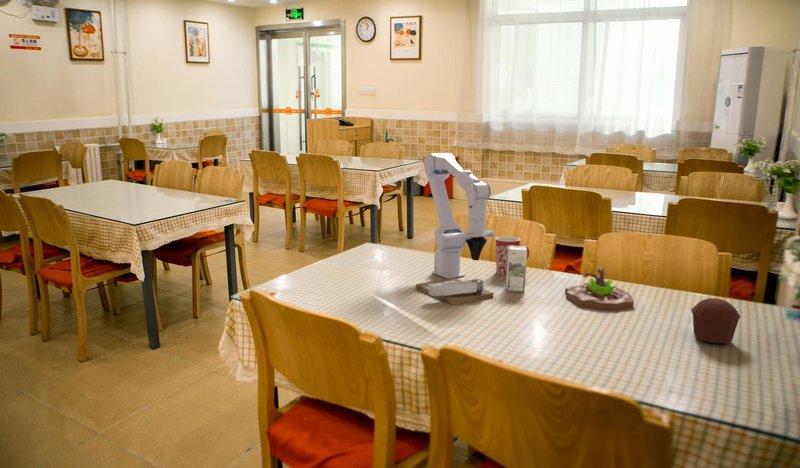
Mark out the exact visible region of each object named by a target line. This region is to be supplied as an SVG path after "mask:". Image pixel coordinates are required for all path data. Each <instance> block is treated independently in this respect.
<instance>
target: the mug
mask: <svg viewBox="0 0 800 468" xmlns="http://www.w3.org/2000/svg"><path fill="white" fill-rule="evenodd" d="M494 238H495V262H496V263H495V266H496V267H495V269H496V270H495V272H496V274H497V275H499V276H504V277H506V274H507V256H508V246H525V247H526V249H527V260H528V259H529V257H530V249H529V247H528V246H527V245H524V244H522V245H520V244H521V243H520V242H521V238H520V237H516V236H497V237H494Z"/></svg>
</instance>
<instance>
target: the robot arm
mask: <svg viewBox="0 0 800 468" xmlns="http://www.w3.org/2000/svg"><path fill="white" fill-rule="evenodd" d="M456 158H457V157H456V156H455V155H453V153H452V152H445V153H444V152H443V153H442V152H440V153H437V152H435V153H432V152H427V153H426V155H425V156H424V160H423V168H424V171H425V175H426V179H428V183H429V186H430V190H431V195H432V198H433V203H434V206H435V211H436V215H437V220H438V223H439V226H438V227H437V228H436V230H435V231H434V237H435V238H434V239H435V240H434V243H435V246H436V248H437V250H436V251H435V253H434V257H433V259H434V261H433V271H431V273H432V274H434V275H437V276H440V277H442V278H445V279H452V278H459V277H465V276H466V275H465V274H464V273H462V272H461V252H463V249H464V248H465V247H466V244H467V247H468V249H469V252H470V256H471V260H472V261H475V262H476V261H479V260H480V257H481V255H482V254H481V253H482V251H483V249H484V247H485V245H486V243H487V241H488V239H487V238H496V237H495V236H496V231H495V230H492V229H490V230H486V223H487V220H486V219H487V203H488V202H487V200H489V199H490V197H491V192H492V189H491V186H490V184H489V183H488V181H480V180H479V178H478V177H476V176H475V175H474V174H473V173H472V171H471V170H468V169H465V170H464V169H463V168H462V167H461V165H459V164H458V162H457V160H456ZM450 175H452V176H453V177H454V178H456V179H455V180H456V183H457V185H458V186H459V187H460V188H461V189H463V191H465V197H466V199H467V200H466V203H467V206H468V210H467V211H468V215H467V217H468V218H467V231H465V232H464V231H463V229H462V226H461V225H459V224H458V223H456V222H455V220H454V215H453V211H452V207H451V203H450V200H449V196H448V192H447V187H446V184H445V180H446V179H448V178H449V177H450Z"/></svg>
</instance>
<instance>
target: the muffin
mask: <svg viewBox="0 0 800 468" xmlns="http://www.w3.org/2000/svg"><path fill="white" fill-rule="evenodd" d="M690 312H691V314H692V326H693V327H692V328H693V334H694V337H695V338H698V339H699V340H702V341H703V342H709V343H713V344H727V343H732V341H733V338H734V336H735V332H736V329H737V326H738V323H739V319H740V318H741V317H742V316H741V315H740V314H739V311H738V310H737V309H736V308H735V306H734V305H732V304H731V303H730V302H728V301H727V300H725V299H724V300H723V299H720V298H714V297H711V298H704V299H702V300H700V301H699V302H698V303H696V304H695V305H694V306H693V307H692V308H691V309H690Z"/></svg>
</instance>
